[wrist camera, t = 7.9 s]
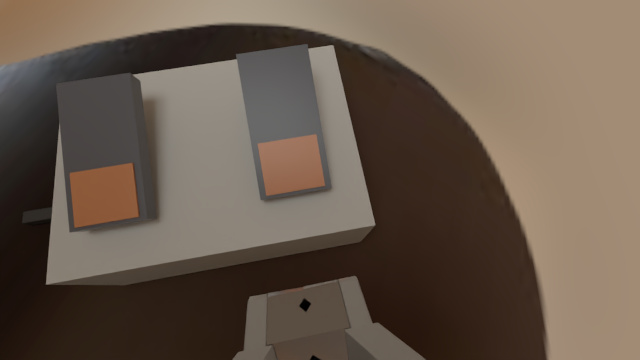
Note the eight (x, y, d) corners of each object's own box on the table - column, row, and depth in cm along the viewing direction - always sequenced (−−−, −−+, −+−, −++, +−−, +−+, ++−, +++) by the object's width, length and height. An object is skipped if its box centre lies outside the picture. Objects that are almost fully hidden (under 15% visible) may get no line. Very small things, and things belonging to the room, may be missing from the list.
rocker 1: (89, 231, 20) (67, 232, 18) (76, 94, 21) (54, 82, 19) (160, 218, 20) (146, 218, 19) (144, 84, 21) (128, 71, 20)
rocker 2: (264, 199, 21) (260, 200, 19) (241, 65, 21) (235, 53, 19) (329, 187, 21) (332, 188, 20) (307, 55, 22) (307, 43, 20)
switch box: (24, 303, 26) (-97, 310, 19) (40, 145, 31) (-52, 98, 23) (360, 241, 28) (375, 225, 20) (329, 99, 32) (332, 41, 25)
